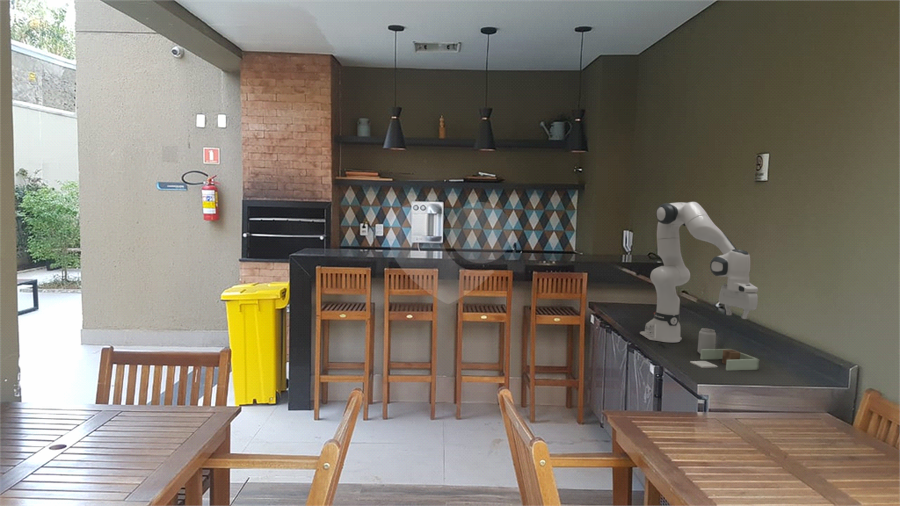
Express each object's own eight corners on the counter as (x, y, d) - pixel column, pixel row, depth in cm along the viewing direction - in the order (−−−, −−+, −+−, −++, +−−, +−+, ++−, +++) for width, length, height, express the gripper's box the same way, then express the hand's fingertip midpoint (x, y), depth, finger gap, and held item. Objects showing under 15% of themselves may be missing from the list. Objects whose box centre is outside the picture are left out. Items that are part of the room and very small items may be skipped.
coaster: (690, 362, 263) (690, 361, 263) (705, 362, 265) (705, 360, 265) (701, 367, 255) (701, 366, 255) (717, 367, 257) (717, 365, 257)
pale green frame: (700, 359, 270) (701, 349, 270) (729, 358, 274) (730, 348, 273) (727, 370, 253) (728, 360, 252) (758, 369, 256) (759, 359, 256)
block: (721, 362, 265) (723, 349, 265) (731, 362, 266) (732, 349, 266) (729, 366, 260) (730, 352, 260) (739, 365, 262) (740, 352, 261)
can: (715, 356, 275) (718, 331, 274) (699, 355, 277) (701, 330, 276) (712, 352, 283) (714, 328, 282) (695, 351, 284) (697, 327, 283)
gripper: (716, 283, 270) (714, 313, 271) (748, 289, 250) (747, 321, 251) (727, 283, 272) (726, 312, 273) (761, 289, 252) (759, 320, 253)
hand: (736, 316), depth 262 cm, fingers open, 8 cm apart
